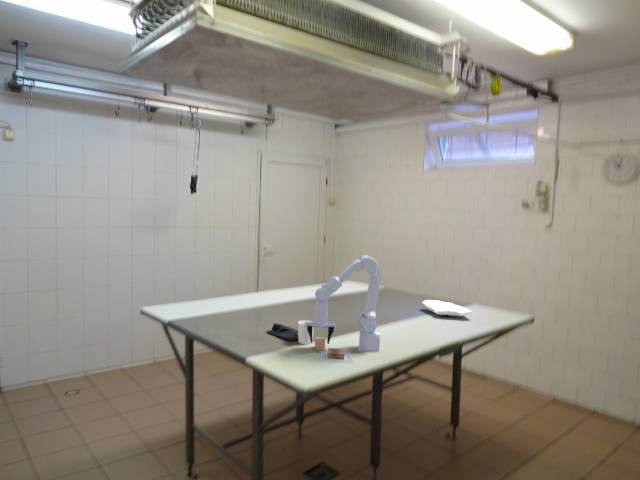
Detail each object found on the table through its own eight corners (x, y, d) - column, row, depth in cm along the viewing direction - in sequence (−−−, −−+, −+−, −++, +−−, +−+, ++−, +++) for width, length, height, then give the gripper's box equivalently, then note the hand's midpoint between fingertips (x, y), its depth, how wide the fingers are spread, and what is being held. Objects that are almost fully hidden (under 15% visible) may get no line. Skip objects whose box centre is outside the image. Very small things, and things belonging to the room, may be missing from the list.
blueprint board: (350, 352, 211) (350, 351, 211) (353, 363, 197) (353, 362, 197) (319, 351, 211) (319, 350, 211) (320, 362, 197) (320, 361, 197)
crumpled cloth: (458, 322, 273) (460, 306, 273) (409, 309, 299) (412, 295, 299) (477, 322, 289) (480, 308, 289) (430, 310, 315) (432, 297, 315)
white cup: (313, 340, 228) (314, 320, 227) (313, 345, 220) (314, 324, 219) (297, 340, 228) (298, 320, 227) (296, 344, 220) (297, 324, 219)
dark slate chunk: (286, 344, 222) (286, 334, 221) (264, 332, 240) (264, 323, 239) (312, 340, 230) (313, 330, 230) (289, 329, 248) (290, 320, 248)
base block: (343, 354, 208) (343, 348, 208) (344, 359, 201) (344, 353, 201) (327, 353, 208) (328, 348, 208) (328, 358, 201) (328, 353, 201)
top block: (324, 348, 217) (324, 337, 217) (324, 351, 212) (325, 340, 212) (314, 347, 217) (315, 337, 217) (314, 350, 212) (315, 340, 212)
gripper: (305, 315, 209) (303, 344, 210) (337, 316, 210) (335, 346, 211) (305, 311, 216) (304, 340, 217) (336, 313, 217) (335, 341, 218)
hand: (319, 342), depth 214 cm, fingers open, 7 cm apart
